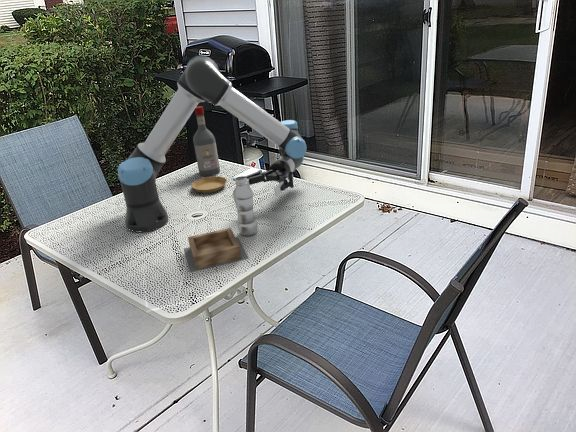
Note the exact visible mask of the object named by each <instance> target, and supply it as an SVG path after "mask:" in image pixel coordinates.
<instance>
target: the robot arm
mask: <svg viewBox="0 0 576 432" xmlns="http://www.w3.org/2000/svg"><path fill="white" fill-rule="evenodd" d="M176 84H177V88H178V89H177V90H176V92H175V94H174V95H173V97H172V98H171V100H170V101H169V103H168V104H167V106H166V107H165V109H164V111H162V114H161V116H160V118H159V119H158V121H157V122H156V124H155V125H154V127H153V129H152V130H151V131H150V133H149V135H148V136H147V138H146V140H145V141H143V142H140V143H138V144H137V146H136V147H135V148H134V149H133V152H131V154H130V155H129V156H128V158H126V160H124V161H122V162H121V163H120V164H119V165H118V166H117V175H118V176H117V178H118V179H119V182H120V186H121V189H122V194H123V197H124V202H125V205H126V213H125V221H124V222H125V226H126V229H127V228H128V229H130V230H133V231H147V232H150V231H149V230H152V231H154V230H153V229H155V230H157V229H156V228H158V229H160V228H162V227H164V225H166V224H167V223H168V222H169V215H168V212H167V210H166V209H165V206H164V205H163V203H162V202H161V201H160V197H159V192H158V188H157V187H158V186H157V183H156V181H157V176H158V174H159V172H160V171H161V169H162V168H163V166H164V165H165V163H166V161H167V160H166V156H165V155H166V154H167V152H168V151H169V149H170V147H171V146H172V145H173V143H174V142H175V140H176V138H178V135H179V134H180V132H181V131H182V129H183V128H184V127H185V125H186V123H187V121H188V120H189V119H190V117H191V116H192V114H193V112H195V108H196V107H197V106H198V105H199V104H200V103H204V102H206V101H207V102H208V103H210V104H212V105H213V106H215V107H216V106H220V107H221V108H223V109H224V110H226V111H227V112H228V113H230V114H231V115H232V116H234V117H236V118H237V119H238V120H240V121H241V122H243V123H244V124H246V125H247V126H248V127H250V128H251V129H253V130H254V131H256V132H257V133H259V134H260V135H261V136H263V137H265V139H267V140H268V141H270V142H271V143H273V144H274V145H275V146H277V147H278V148H279V149H280V157H279V158H277V159H276V160H275V161H274V162H273V163H272V164H271V165H270V166H269V168H268V170H265V172H262V170H263V169H260V170H259V171H257V172H255V173H253V174H250V175H247V176H245V177H246V178H247V185H248V186H249V187H250V186H252V185H255V184H259V183H267V182H277V183H278V184H277V185H276V186H275V188H274V189H273V191H274V196H275V197H278V196H279V195H280V194H281V193H283V191H285V190H286V189H288V188H290V189H294V187H295V186H294V172H295V171H296V170H297V169H299V167H300V166H302V163H303V162H304V159H305V154H306V153H307V144H306V141H305V139H303V137H302V136H301V134H300V133H299V125H298V121H296V120H293V119H287V120H281V121H279V120H278V119H276V118H275V117H274V116H272V115H271V114H270V113H268V112H267V111H266V110H265V109H263V108H262V107H260V106H259V105H258V104H256V103H255V102H253V101H252V100H251V99H249V97H247V96H245V95H244V94H243V93H242V92H240V91H239V90H238V89H236V88H234V87H233V85H232V82H231V81H230V80H229V79H227V78H226V77H225V76H224V75H223V74H222V73H221V72H220V67H219V66H218V64H217V63H216V61H215V60H213V59H212V58H211V57H208V56H206V55H196V56H194V57H192V58H191V59H190V60H189V61H188V62H187V64H186V68H185V69H184V71H183V72H182V74H181V76H180V77H179V79H178V80H177V82H176ZM250 188H251V187H250ZM161 226H162V227H161ZM159 227H160V228H159ZM128 229H127V230H128Z"/></svg>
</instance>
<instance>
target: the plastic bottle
mask: <svg viewBox="0 0 576 432" xmlns="http://www.w3.org/2000/svg"><path fill="white" fill-rule="evenodd" d="M234 181H235V187H234V189H233V192H232V197H233V200H234V203H235V207H236V208H235V209H236V211H237V229H238V232H239V233H240V235H242V236H244V237H249V236H253V235H255V234H256V233H257V232H258V229H259V228H258V227H259V226H258V222H257V218H256V216H255V211H254V193H253V190H252V189H251V187H249V186H248V185H247V178H246V177H245V176H240V177H237V178H235V180H234Z"/></svg>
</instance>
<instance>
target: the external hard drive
mask: <svg viewBox="0 0 576 432" xmlns="http://www.w3.org/2000/svg"><path fill="white" fill-rule="evenodd" d="M259 170H262V172H266V170H265V169H259V168H253V167H251V168H249V169H247V170H244V171H243V172H241V173H239V174H237V175H235V176H233V177H232V180H234V181H235V178H237V177H240V176H247V175H250V174H253V173H255V172H257V171H259Z"/></svg>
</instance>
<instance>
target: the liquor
mask: <svg viewBox="0 0 576 432" xmlns="http://www.w3.org/2000/svg"><path fill="white" fill-rule="evenodd" d="M194 113H195V114H194V115H196V121H197V130H196V132H195V133H194V134H193V137H192V142H193V146H194V153H195V157H196V164H197V169H198V173H199V175H200V176H201V177H212V176H217V175H218V174H220V172H221V168H220V161H219V155H218V148H217V143H216V137H215V136H214V134H213V133H212V132H211V131H210V130H209V129H208V128H207V127H206V120H205V115H204V114H205V112H204V106H203V105H199V106H198V105H197V106H196V108H195V109H194Z"/></svg>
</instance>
